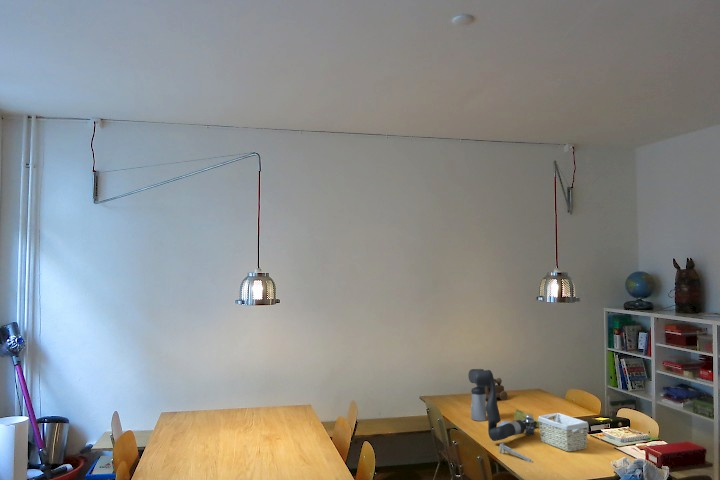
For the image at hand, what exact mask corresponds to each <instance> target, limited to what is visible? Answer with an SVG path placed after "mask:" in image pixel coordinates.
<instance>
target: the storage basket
mask: <svg viewBox="0 0 720 480" xmlns="http://www.w3.org/2000/svg"><path fill="white" fill-rule="evenodd" d="M537 421H538V422H539V427H538V428H539V435H540V441H541V442H542V443H544V444H547V445H550V446H551V447H555V448H557V449H559V450H562V451H565V452H575V451H580V450H583V449H587V447H588V431H589V430H588V428H589V423H588V421H586V420H585V421H584V420H582V419H579V418H576V417H572V416H569V415H567V414H563V413H560V412H556V413H549V414H542V415H539V416H538V419H537Z"/></svg>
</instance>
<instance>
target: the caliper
mask: <svg viewBox="0 0 720 480" xmlns="http://www.w3.org/2000/svg"><path fill="white" fill-rule="evenodd" d="M498 451H499V454H502V455H505V452H506V453H508V454H509V455H511V454H513V455H514V456H516V457H518V458H520V459H522V460H524V461H526V462H529V463H534V461H533V460H532V458H529V457H527V456H525V455H523V454H521V453H519V452H517V451H515V450H513V449H512V448H511V447H508V446H507V445H505V442H504V443H503V441H501V442H500V443H499V447H498Z"/></svg>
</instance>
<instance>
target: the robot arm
mask: <svg viewBox="0 0 720 480" xmlns="http://www.w3.org/2000/svg"><path fill="white" fill-rule="evenodd" d="M468 379H469V382H470V383H472V384H475V385H476V386H475V387H473V388H471V391H470V392H471V404H470V418H471V420H473V421H476V422H484V421H485V422H486V421H487V420H488V421H487V425H488V426H487V427H488V429H487V431H488V432H487V433H488V436H489V439H490V440H491V441H493V442H497V441H502V440H504V439H505V440H506V439H507V438H509V437H510V438H511V437H512V436H517V435H519V434H523V433H524V432H525V429H529V428H530V429H531V430H533V429H534V430H535V429H536V428H537V427H536V425H537V422H536V421H535V422H532V423H530V422H525V420H516V421H515V420H512V421H509V422H510V423H508V424H505V425H503V426H499V427H498V424H499V423H500V422H501V421H502V420H501V415H500V410H499V406H498V399H497V398H496V390H495V385H496V383H494V379H495V378H494V375H493V372H492V370H490V369H483V368H473V369H470V370H469V371H468ZM486 386H490V395H489V398H488V399H486V395H485V387H486ZM486 400H487V401H486ZM531 424H532V425H531Z"/></svg>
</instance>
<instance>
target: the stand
mask: <svg viewBox="0 0 720 480" xmlns="http://www.w3.org/2000/svg"><path fill="white" fill-rule="evenodd" d="M510 422H511V421H506V420H504V421H502V422H501V423H500V422H499V423H498V424H497V427H499V426H503V425H505V424H508V423H510Z"/></svg>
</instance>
